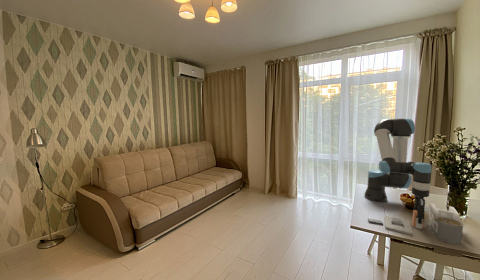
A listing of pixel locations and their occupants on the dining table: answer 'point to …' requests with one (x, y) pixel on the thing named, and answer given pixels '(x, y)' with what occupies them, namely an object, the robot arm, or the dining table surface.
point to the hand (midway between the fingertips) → (417, 225)
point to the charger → (415, 218)
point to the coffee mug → (447, 229)
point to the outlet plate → (400, 222)
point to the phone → (375, 221)
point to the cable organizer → (442, 213)
